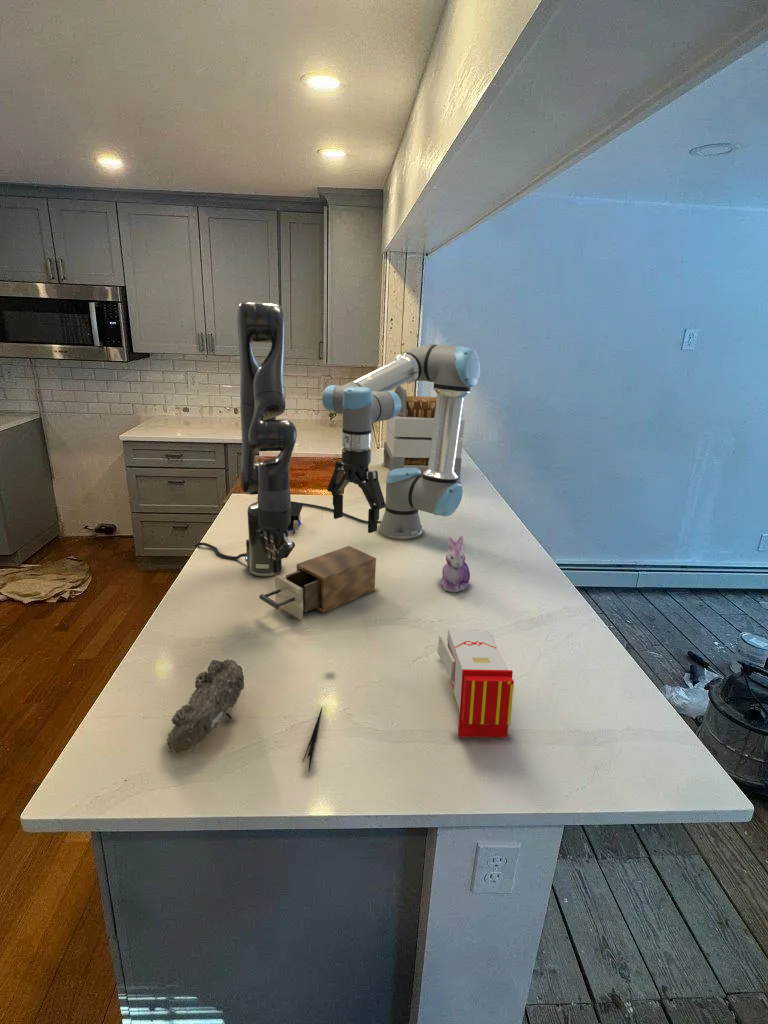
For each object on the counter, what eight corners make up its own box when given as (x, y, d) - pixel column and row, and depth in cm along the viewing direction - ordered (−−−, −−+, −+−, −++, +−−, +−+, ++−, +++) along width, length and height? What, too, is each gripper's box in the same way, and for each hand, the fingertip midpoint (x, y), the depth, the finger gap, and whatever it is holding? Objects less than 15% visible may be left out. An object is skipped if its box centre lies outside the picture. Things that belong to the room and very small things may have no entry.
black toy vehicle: (298, 540, 193) (303, 520, 207) (298, 520, 190) (303, 501, 204) (279, 540, 193) (285, 519, 207) (278, 520, 190) (284, 501, 203)
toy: (488, 613, 130) (523, 677, 101) (484, 667, 133) (517, 744, 104) (435, 612, 130) (455, 676, 101) (432, 666, 133) (451, 743, 103)
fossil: (192, 660, 117) (244, 628, 112) (224, 691, 120) (276, 661, 115) (142, 746, 98) (202, 712, 93) (182, 779, 101) (242, 748, 96)
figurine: (451, 596, 157) (455, 546, 152) (431, 580, 166) (435, 533, 161) (478, 590, 162) (484, 541, 157) (458, 575, 170) (462, 529, 165)
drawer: (279, 627, 137) (278, 597, 135) (256, 611, 144) (255, 583, 141) (351, 596, 153) (351, 569, 151) (327, 583, 160) (327, 557, 157)
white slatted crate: (382, 463, 289) (386, 382, 275) (445, 464, 293) (451, 384, 279) (390, 482, 257) (394, 392, 243) (460, 483, 261) (468, 394, 247)
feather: (331, 679, 122) (336, 673, 122) (307, 777, 96) (313, 769, 95) (324, 675, 122) (329, 669, 121) (298, 772, 95) (304, 764, 95)
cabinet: (323, 613, 146) (323, 578, 143) (296, 597, 154) (296, 563, 150) (374, 590, 159) (376, 557, 156) (348, 576, 166) (348, 545, 163)
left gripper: (244, 500, 134) (247, 567, 140) (278, 516, 126) (279, 586, 131) (270, 494, 139) (272, 559, 145) (304, 508, 131) (305, 576, 137)
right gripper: (314, 441, 152) (314, 515, 160) (380, 460, 136) (377, 541, 144) (335, 437, 157) (334, 509, 165) (401, 455, 141) (397, 534, 149)
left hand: (275, 571), depth 138 cm, fingers closed
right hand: (354, 524), depth 154 cm, fingers open, 13 cm apart
